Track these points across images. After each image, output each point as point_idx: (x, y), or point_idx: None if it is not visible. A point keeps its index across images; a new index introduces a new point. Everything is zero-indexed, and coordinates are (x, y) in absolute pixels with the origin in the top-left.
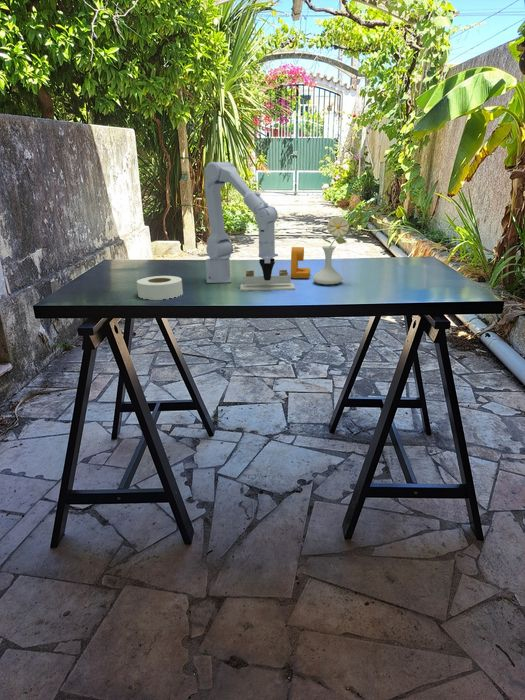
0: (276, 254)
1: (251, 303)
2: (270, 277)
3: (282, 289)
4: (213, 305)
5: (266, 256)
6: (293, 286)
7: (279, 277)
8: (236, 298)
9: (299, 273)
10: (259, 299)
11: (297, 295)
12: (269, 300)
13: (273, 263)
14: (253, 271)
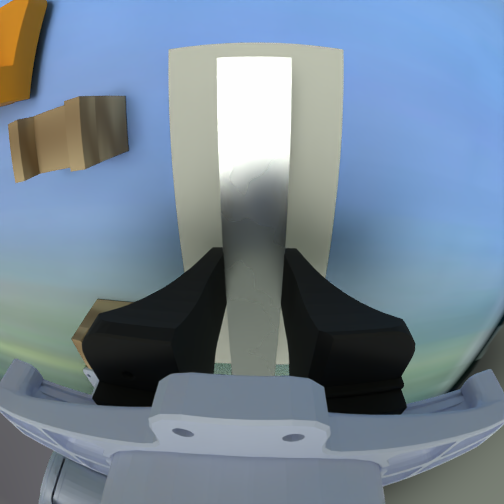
0: (300, 441)
1: (493, 301)
2: (303, 258)
3: (337, 138)
4: (451, 382)
5: (424, 466)
6: (288, 50)
7: (288, 171)
8: (421, 352)
9: (18, 43)
10: (472, 278)
11: (468, 86)
12: (497, 240)
13: (411, 336)
14: (82, 339)
